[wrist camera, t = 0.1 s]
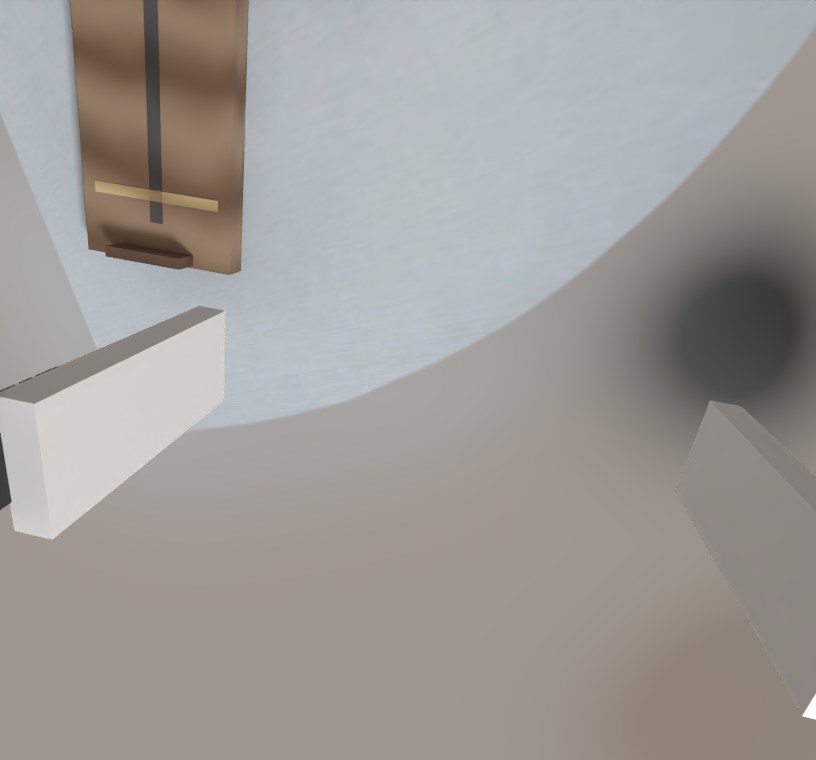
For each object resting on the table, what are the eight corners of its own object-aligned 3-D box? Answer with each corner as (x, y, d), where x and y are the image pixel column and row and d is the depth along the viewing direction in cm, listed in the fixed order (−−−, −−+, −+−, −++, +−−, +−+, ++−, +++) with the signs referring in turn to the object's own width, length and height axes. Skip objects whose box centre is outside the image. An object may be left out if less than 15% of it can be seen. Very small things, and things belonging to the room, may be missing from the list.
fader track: (78, -190, 35) (27, -235, 31) (253, -174, 33) (222, -218, 30) (105, 246, 45) (70, 252, 41) (240, 270, 44) (216, 279, 40)
